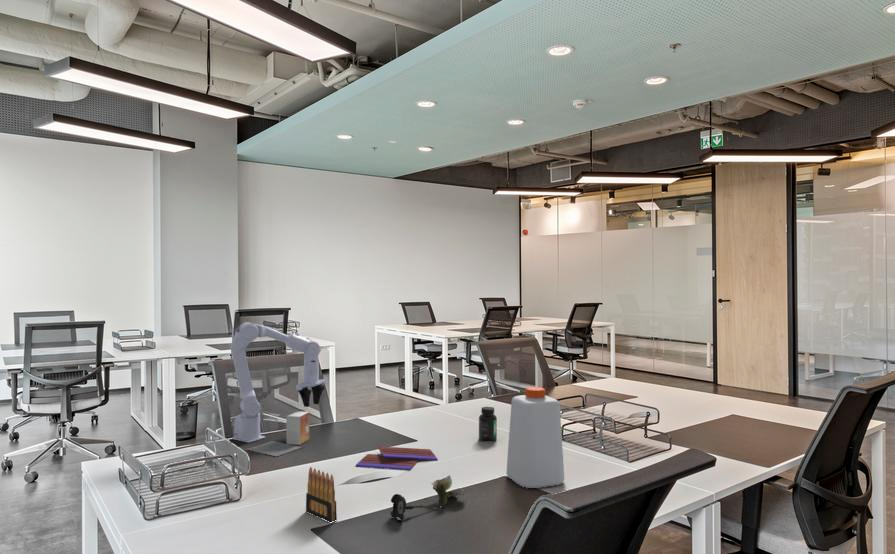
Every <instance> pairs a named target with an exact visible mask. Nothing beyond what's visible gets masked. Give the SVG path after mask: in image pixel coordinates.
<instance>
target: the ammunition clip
mask: <svg viewBox="0 0 895 554" xmlns="http://www.w3.org/2000/svg"><path fill="white" fill-rule="evenodd" d="M334 478H335V477H334V475H333V474H331V475H329V473H328V472H326V474H325V471H323V470H322V472H321V470H320V469H318V470H317V469H316V468H313V467H312V466H310V467H309V469H308V477H307V479H308V480H307V492H306V495H305V513H306V512H309V513H311V514H313V515H315V516H318V517H320V518H323V519H325V520H327V521H329V522H332V521H335V520H338V519H337V518H338V517H337V515H338V514H337V501H336V490H335V479H334ZM311 514H310V515H311ZM313 515H312V516H313ZM315 516H314V517H315Z"/></svg>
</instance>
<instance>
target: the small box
mask: <svg viewBox="0 0 895 554" xmlns="http://www.w3.org/2000/svg"><path fill="white" fill-rule="evenodd" d="M308 440H310V411H294V412H292V413H291V414H288V415H287V416H286V444H289V445H294V446H301V445H302V444H303V443H305V442H307V441H308Z"/></svg>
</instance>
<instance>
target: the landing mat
mask: <svg viewBox="0 0 895 554" xmlns="http://www.w3.org/2000/svg"><path fill="white" fill-rule="evenodd" d="M300 449H303V447H302V446H299V445H293V444H287V443H283V442H280V441H279V442H278V441H275V440H272V441H269V442H265V443H262V444H259V445H255V446H253V447H249V448H246V451H248V450H249V451H248V452H252V451H253V452H254V453H257V454H262V455H265V454H267V455H266V456H269V455H271V456H270V457H274V456H275V457H274V458H278V457H280V455H281V456H283V454H284V455H286V453H287V454H290V453H292V452H295V451H297V450H300ZM277 456H278V457H277Z"/></svg>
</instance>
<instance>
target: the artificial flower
mask: <svg viewBox="0 0 895 554" xmlns="http://www.w3.org/2000/svg"><path fill="white" fill-rule="evenodd" d="M430 484H431V486H432V490H434V491H435V492H436V494H437V496H438V500H439V507H440V506H443V507H445V505H447V503H448V498H457V497H458V496H464V495H465V494H466V493H467V491H466V489H461V488H455V489H451V490H449V489H450V488H451V487H452V485H453V479H452V477H451V475H450V474H449V475H447V476H446V477H443V478H442V479H436V480H434V481H433V482H431V483H430ZM448 490H449V491H448ZM451 496H453V497H451ZM456 496H457V497H456ZM447 497H448V498H447ZM390 502H391V503H392V511H389V513H390V516H392V517H399V518H400V519H401V521H403V520H404V519H405V515H404V513H405V512H406V510H409V511H410V510H413V509H415V508H418V509H420V508H422V509H423V508H427V509H432V510H435V509H434V508H436V507H435V506H428V505H422V504H421V505H408V506H407V500H406V498H405V496H403V495H402V494H398V493H395V494H394V495H392V497H391V499H390ZM392 517H391V518H392ZM401 521H400V520H399V521H398V522H401Z"/></svg>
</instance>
